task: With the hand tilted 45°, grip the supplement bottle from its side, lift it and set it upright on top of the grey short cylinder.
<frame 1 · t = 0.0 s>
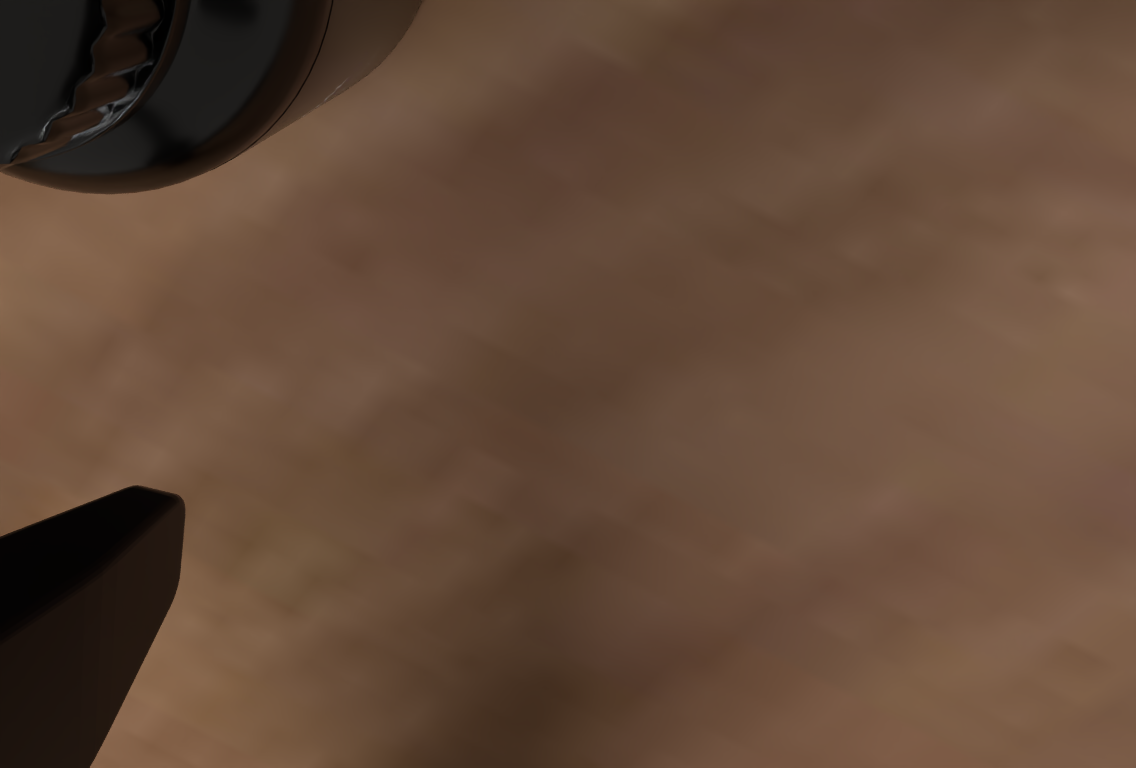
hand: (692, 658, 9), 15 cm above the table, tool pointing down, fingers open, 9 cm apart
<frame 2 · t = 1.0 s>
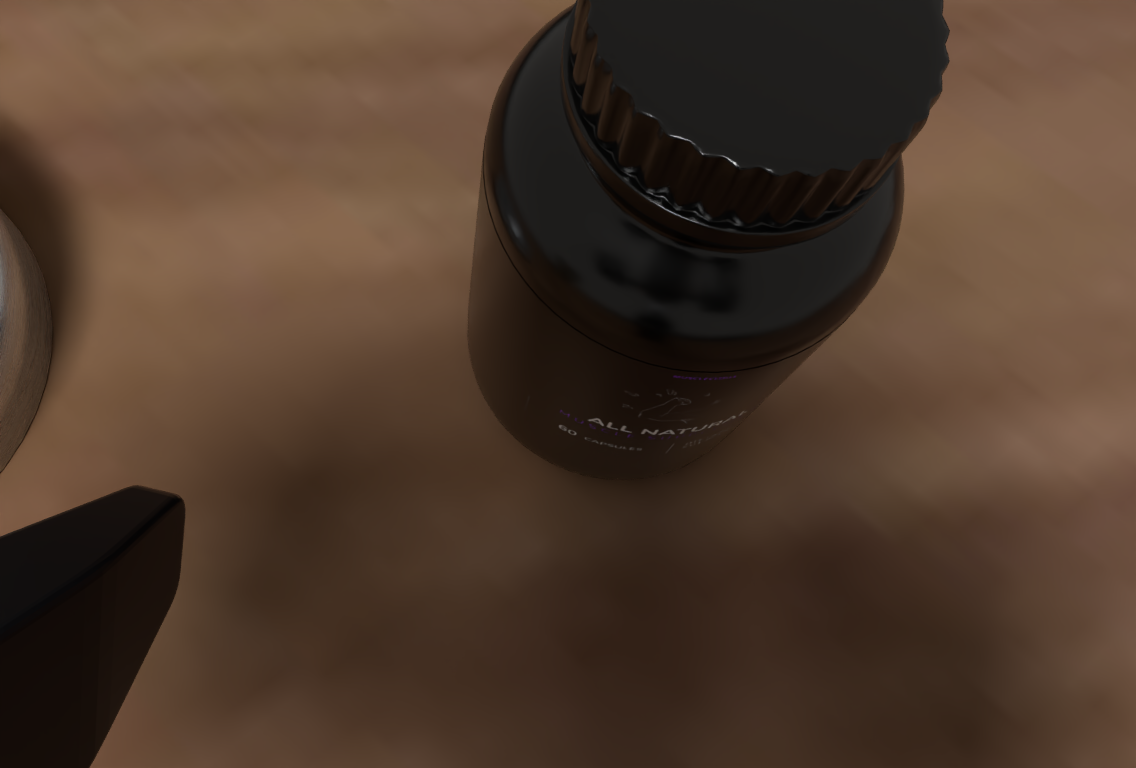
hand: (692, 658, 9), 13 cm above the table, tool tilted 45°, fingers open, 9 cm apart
supplement bottle: (613, 347, 24), on the table
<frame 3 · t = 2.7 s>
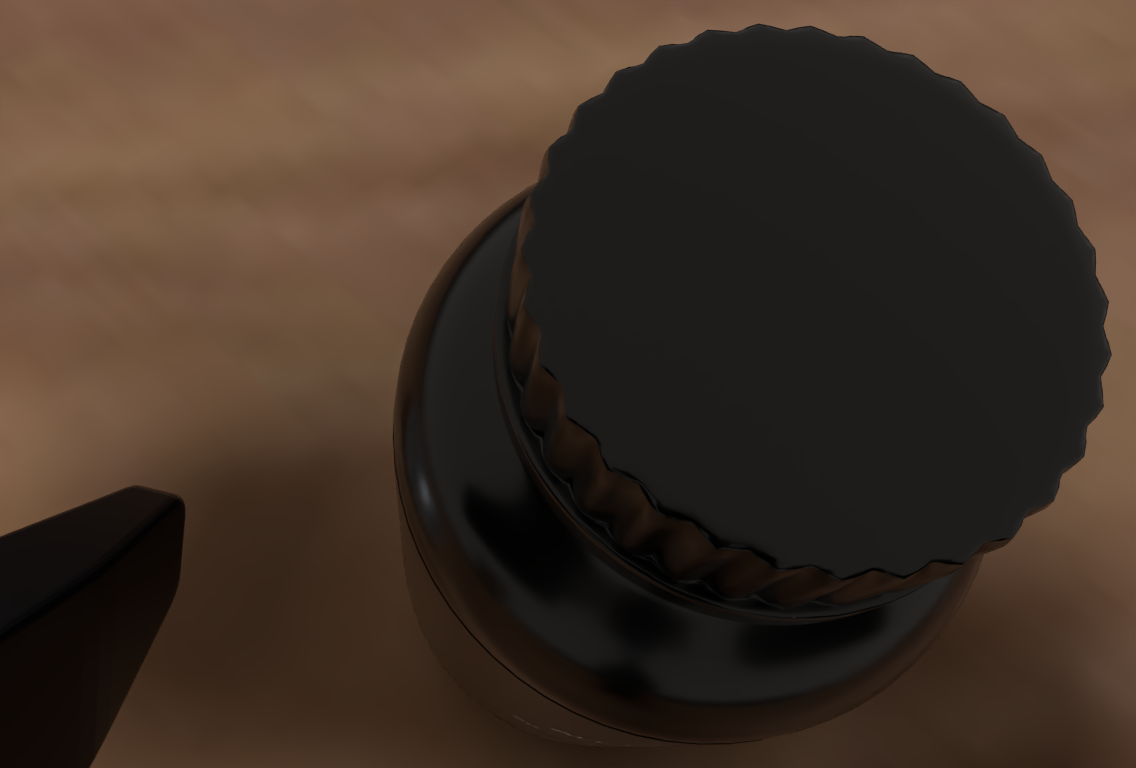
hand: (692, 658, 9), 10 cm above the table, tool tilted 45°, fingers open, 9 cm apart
supplement bottle: (592, 554, 19), on the table
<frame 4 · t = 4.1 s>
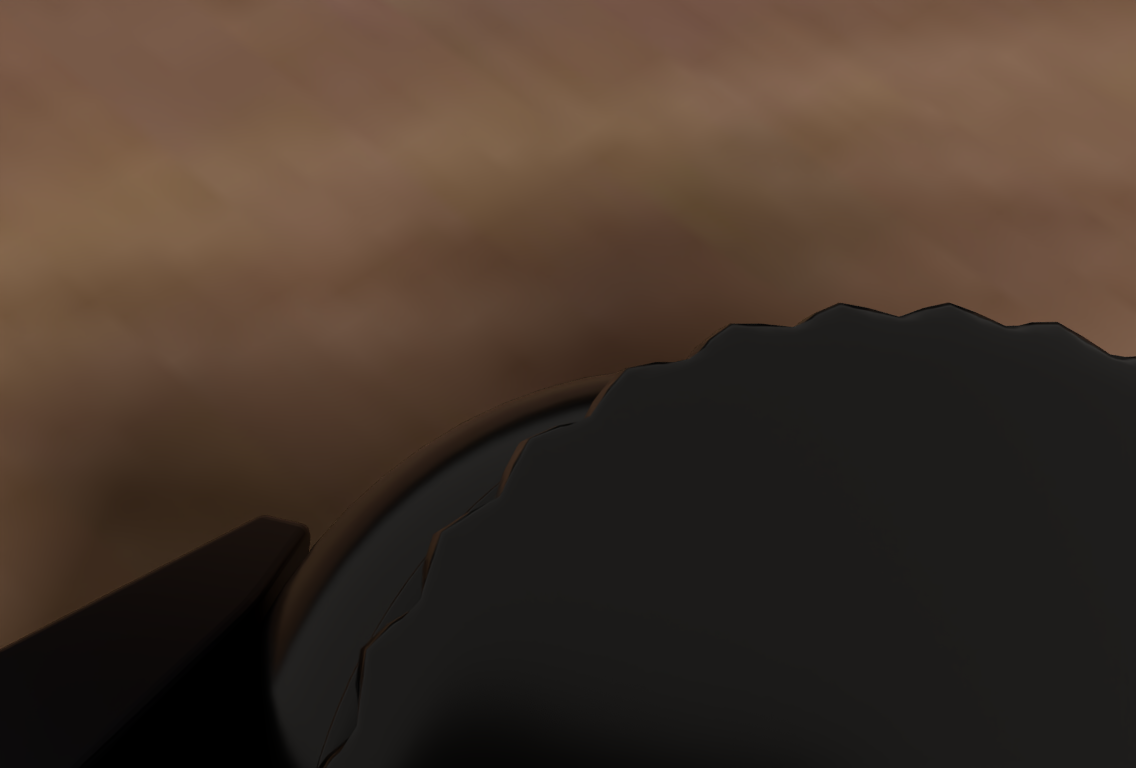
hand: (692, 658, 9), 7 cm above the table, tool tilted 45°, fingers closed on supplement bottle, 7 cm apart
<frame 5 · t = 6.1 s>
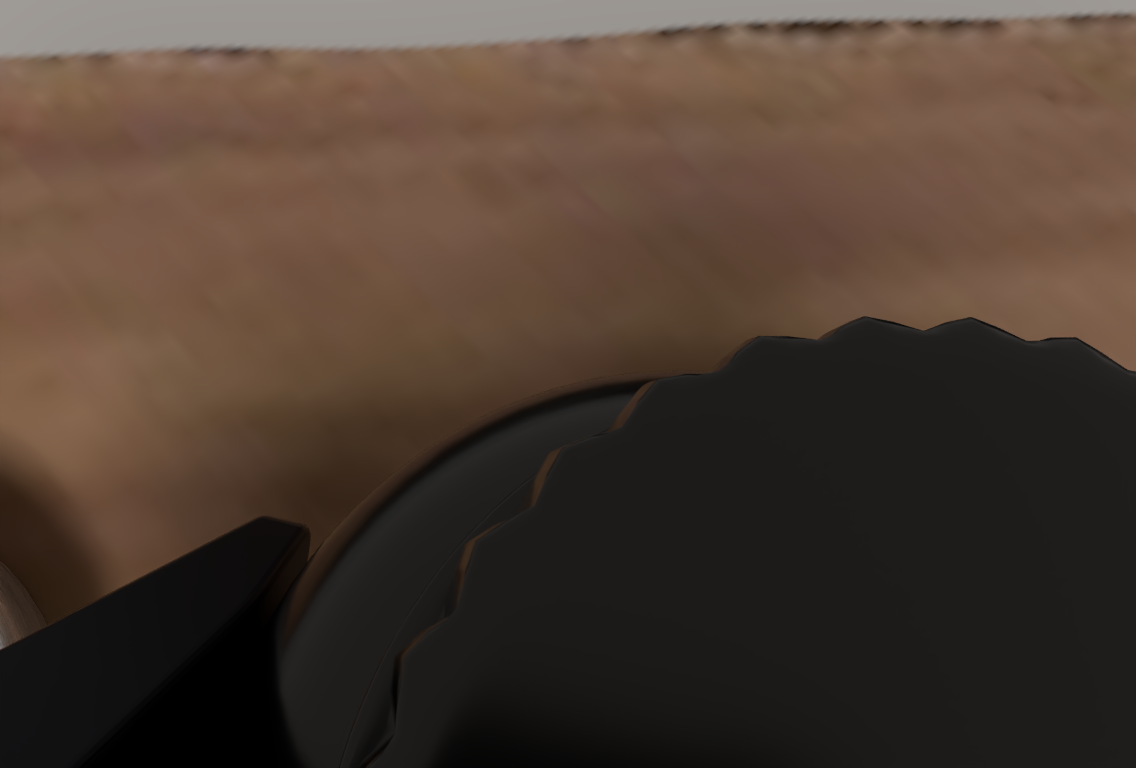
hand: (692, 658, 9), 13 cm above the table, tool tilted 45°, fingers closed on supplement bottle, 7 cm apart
when the fingers open (11 cm above the table, at t = 8.0 s): supplement bottle stays where it is, resting on grey short cylinder.
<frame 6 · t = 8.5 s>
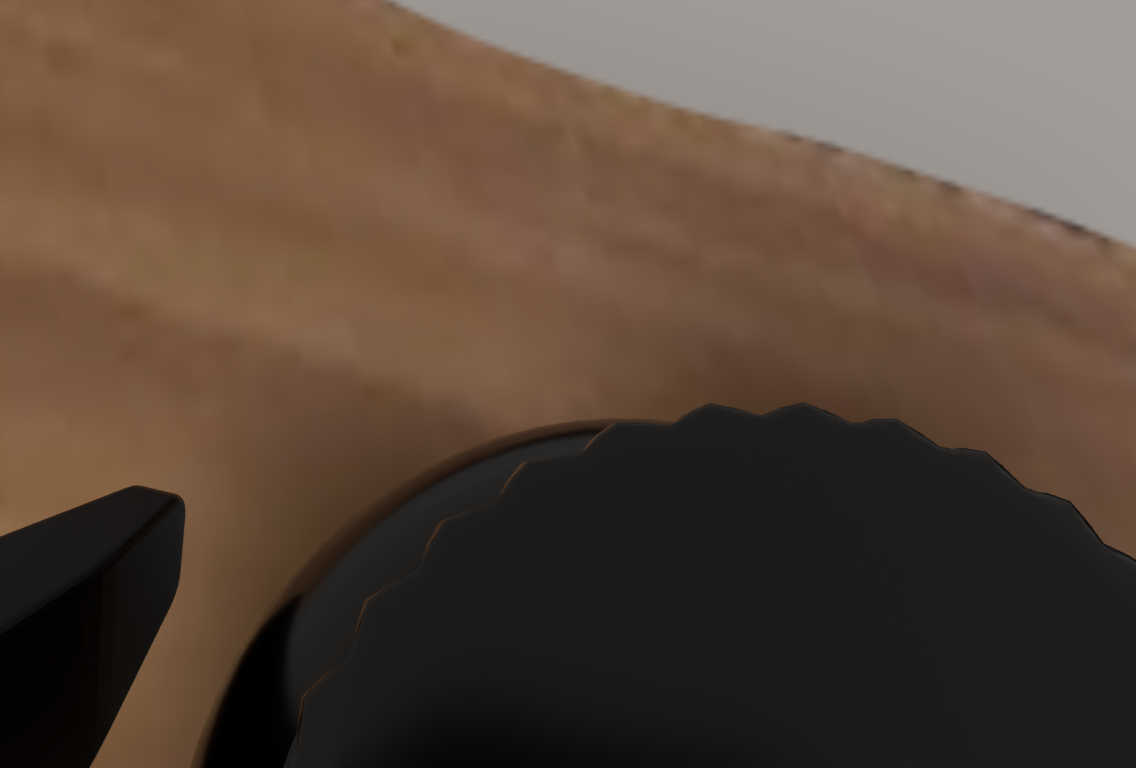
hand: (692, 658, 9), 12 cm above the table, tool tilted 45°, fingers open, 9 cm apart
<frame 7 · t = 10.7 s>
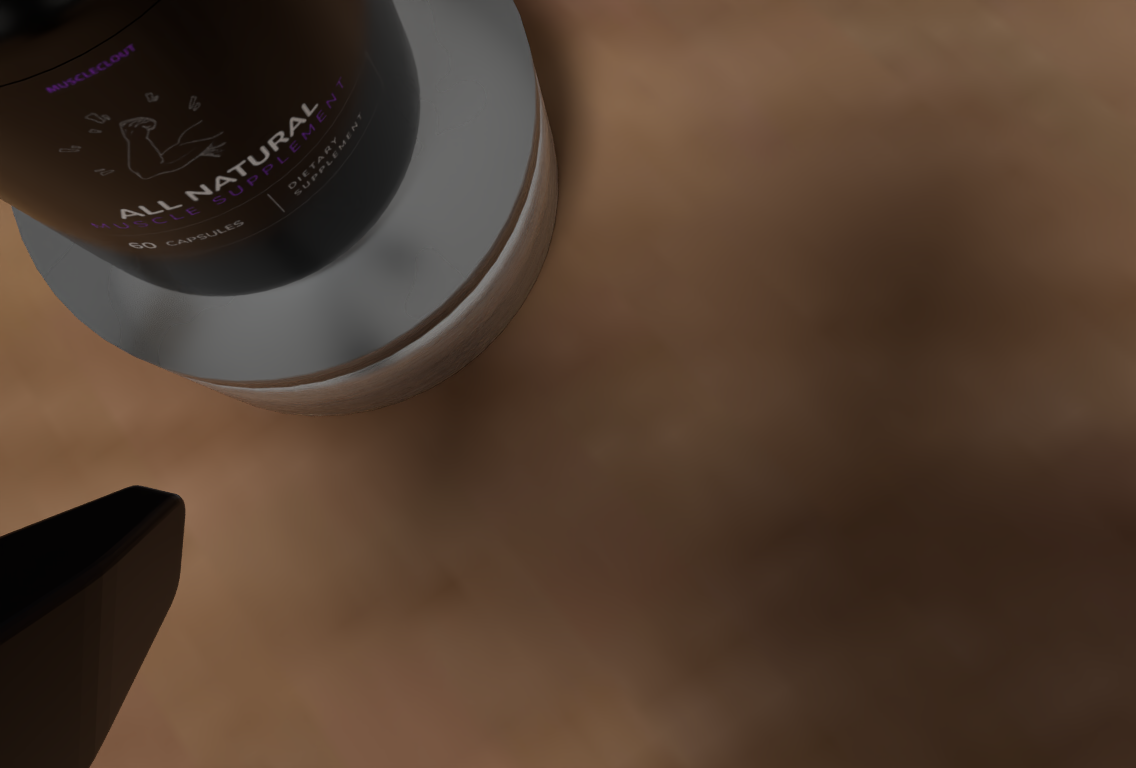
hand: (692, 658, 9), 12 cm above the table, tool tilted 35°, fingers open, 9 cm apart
supplement bottle: (254, 129, 19), point 4 cm above the table, touching grey short cylinder
grey short cylinder: (333, 193, 23), on the table
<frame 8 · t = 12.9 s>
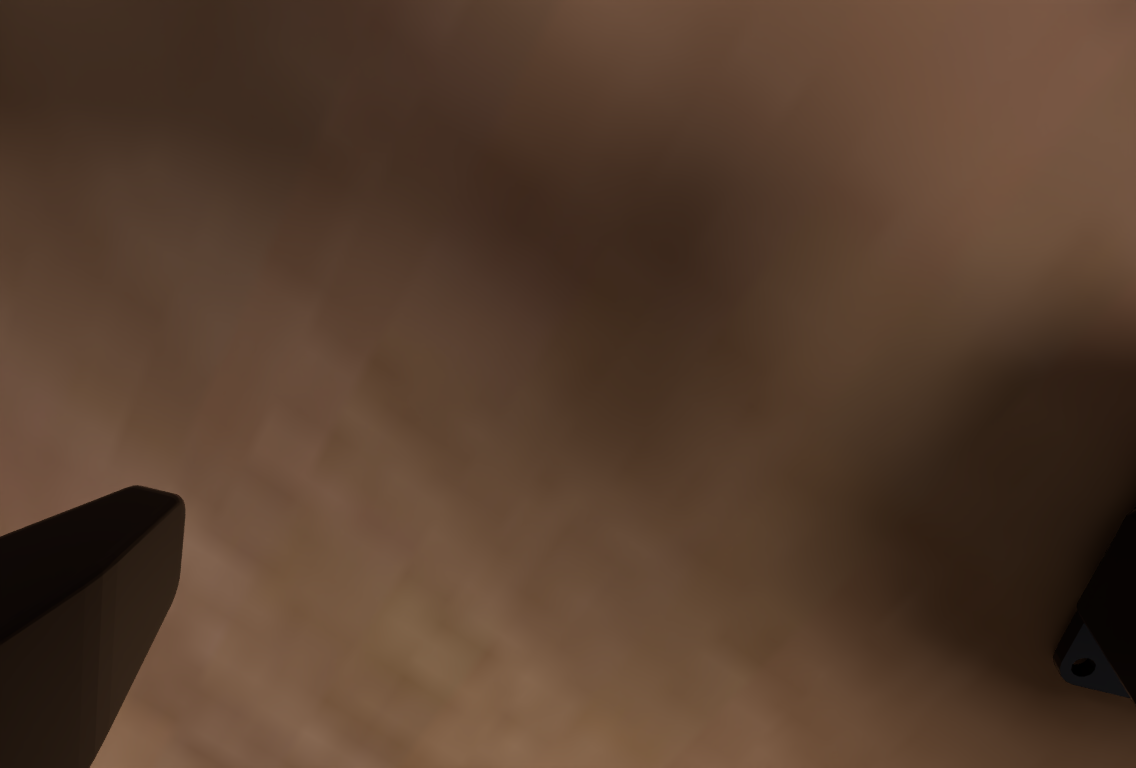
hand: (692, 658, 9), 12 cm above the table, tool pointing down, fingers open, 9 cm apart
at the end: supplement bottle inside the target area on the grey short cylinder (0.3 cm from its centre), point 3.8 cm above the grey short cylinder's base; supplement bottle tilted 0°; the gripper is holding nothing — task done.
